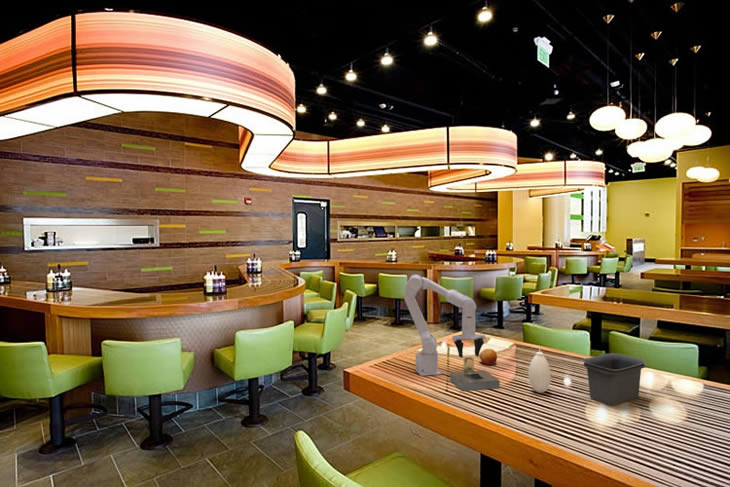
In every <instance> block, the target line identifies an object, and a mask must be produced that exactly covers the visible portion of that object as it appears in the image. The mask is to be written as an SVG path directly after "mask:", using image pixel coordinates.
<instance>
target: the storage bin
mask: <svg viewBox="0 0 730 487" xmlns="http://www.w3.org/2000/svg"><path fill="white" fill-rule="evenodd" d="M582 362H584V363H583V367H584V368H586V371H587V380H588V388H589V389H588V390H589V397H590V398H591V399H592V400H595V401H597V402H600V403H603V404H605V405H608V406H611V407H612V406H616V405H619V404H623V403H625V402H628V401H632V400H634V399H637V398H639V396H640V384H641V383H640V382H641V374H642V369H645V367H646V365H645V364H646V363H647V361H646V360H644V359H642V358H638V357H634V356H629V355H626V354H622V353H618V352H616V353H615V352H611V353H604V354H599V355H595V356H591V357H587V358H584V359H582Z"/></svg>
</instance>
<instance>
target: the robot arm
mask: <svg viewBox="0 0 730 487" xmlns="http://www.w3.org/2000/svg"><path fill="white" fill-rule="evenodd" d="M420 289H422V290H431V291H433V292H435V293H437V294H439V295H440V296H443V297H445V300H446V301H447V302H448V303H450V304H452V305H454V306H456V307H458V308H461V309H462V315H461V334H458V335H452V341H453V343H454V345H455V347H456V350H457V353H458V357H459V358H464V357H463V356H464V355H463V354H464V353H463V350H464V342H463V341H473V343H474V344H473V345H474V356H475V357H480V356H479V355H480V353H481V352H480V351H481V349H482V347H483V345H484V344H485V341H484V340H486V335H485V334H482V333H479V334H478V333H476V310H477V304H476V302H475V301H474V300H473V299H472V298H471V297H469V296H468V295H466V294H465V295H464V294H462V293H460V292H459V290H457V289H453V288H452V289H447V288H445V287H443V286H441V285H439V284H438V283H437V282H435V281H434V280H432V279H429V278H427V277H425V276H422V277H421V275H419V274H412V275H410V277H409V279H408V280H407V282H406V284H405V289H404V294H403V299H404V301H405V304H406V306H407V309H408V311H409V313H410V316H411V318H412V320H413V322H414V325H415V327H416V330H417V332H418V334H419V337H420V341H421V343H422V344H421V347H422V348H421V351H420V352H418V353H416V354H415V372H417V373H418V374H419V376H421V377H422V376H434V375H437V376H438V375H442V372H440V371H439V369H438V367H439V366H438V365H439V364H438V362H439V360H438V357H439V356H438V355H439V354H438V350H437V348H438V345H437V339H436V338H435V336H434V335H433V334H432V333H431V331H430V329H429V326H428V325H427V322H426V319H425V317H424V316H423V313H422V310H421V309H420V307H419V303H418V301H417V299H416V296H417V293H418V292H419V291H420Z"/></svg>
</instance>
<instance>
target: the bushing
mask: <svg viewBox="0 0 730 487" xmlns="http://www.w3.org/2000/svg"><path fill="white" fill-rule="evenodd" d="M474 368H475V358H473V357H471V356H466V357H463V372H471V371H475V370H474Z"/></svg>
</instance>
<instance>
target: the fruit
mask: <svg viewBox="0 0 730 487" xmlns="http://www.w3.org/2000/svg"><path fill="white" fill-rule="evenodd" d="M478 357H479V359H480V361H481V362H482V363H483V364H485V365H487V366H492V365H496V363H497V360H498V355H497V352H496V351H495V350H494V349H492V348H485V349H483V350H481V352H479V356H478Z"/></svg>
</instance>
